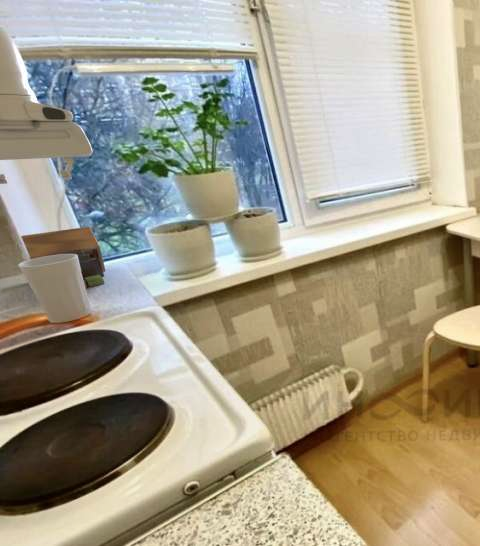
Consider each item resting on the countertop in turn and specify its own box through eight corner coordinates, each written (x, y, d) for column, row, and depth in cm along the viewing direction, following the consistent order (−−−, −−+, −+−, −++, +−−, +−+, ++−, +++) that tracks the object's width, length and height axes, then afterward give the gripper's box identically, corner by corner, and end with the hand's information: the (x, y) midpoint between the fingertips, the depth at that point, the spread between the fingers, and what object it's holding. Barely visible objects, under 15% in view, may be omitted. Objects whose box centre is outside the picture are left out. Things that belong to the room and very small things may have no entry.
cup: (105, 311, 87) (85, 256, 83) (53, 327, 80) (29, 268, 76) (86, 305, 90) (66, 252, 86) (35, 320, 83) (10, 263, 79)
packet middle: (66, 281, 101) (68, 285, 101) (69, 285, 98) (71, 290, 98) (82, 278, 103) (84, 282, 103) (85, 282, 100) (87, 287, 100)
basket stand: (42, 288, 99) (32, 265, 97) (38, 280, 105) (28, 257, 103) (104, 276, 107) (96, 254, 105) (97, 268, 113) (89, 247, 111)
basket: (32, 265, 97) (46, 297, 95) (20, 234, 91) (34, 267, 88) (96, 254, 105) (111, 283, 103) (89, 224, 99) (104, 255, 96)
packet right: (84, 277, 103) (85, 282, 103) (87, 282, 100) (89, 286, 100) (99, 274, 105) (100, 279, 105) (103, 278, 102) (104, 283, 102)
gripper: (-78, 109, 74) (-44, 188, 79) (81, 112, 89) (102, 177, 94) (-76, 110, 78) (-43, 185, 83) (77, 112, 93) (97, 176, 98)
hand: (36, 181), depth 88 cm, fingers open, 8 cm apart
